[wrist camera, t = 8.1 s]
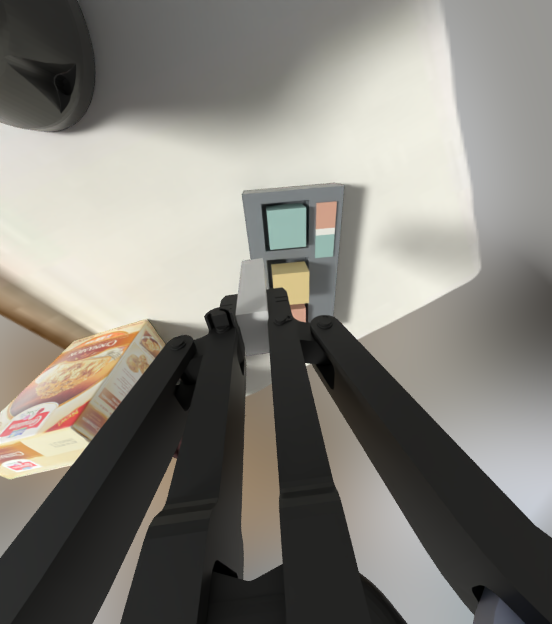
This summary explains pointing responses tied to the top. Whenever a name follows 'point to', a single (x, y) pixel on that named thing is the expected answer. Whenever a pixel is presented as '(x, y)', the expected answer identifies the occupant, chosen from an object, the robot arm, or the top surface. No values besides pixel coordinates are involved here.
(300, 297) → the key mid
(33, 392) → the coffeecake box
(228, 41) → the top surface
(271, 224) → the key
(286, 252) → the keypad board
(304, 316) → the key
